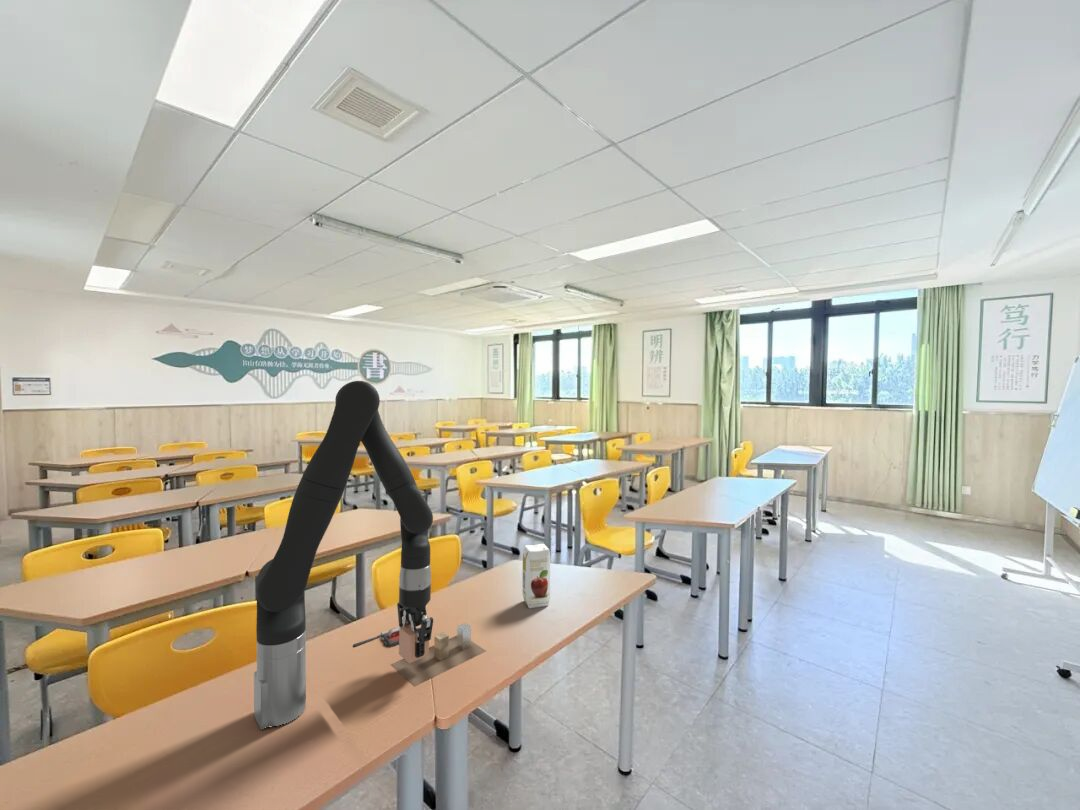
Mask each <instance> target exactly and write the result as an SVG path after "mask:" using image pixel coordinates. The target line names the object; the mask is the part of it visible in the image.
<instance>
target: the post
mask: <svg viewBox="0 0 1080 810" xmlns="http://www.w3.org/2000/svg"><path fill="white" fill-rule="evenodd" d="M456 627H457V628H456V636H457V646H458V647H459V648H460V649H462V650H464V649H466V648H468V647H470V646H471V641H472V640H471V639H472V636H471V635H472V634H471V633H472V631H471V630H472V629H471V628H472V626H471V625H470V624H467V623H466V622H464V623H461V624H459V625H457V626H456Z"/></svg>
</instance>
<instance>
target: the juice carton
mask: <svg viewBox="0 0 1080 810" xmlns="http://www.w3.org/2000/svg"><path fill="white" fill-rule="evenodd" d="M521 583H522V589H521V590H522V591H521V592H522V596H523V597H522V598H523V601H524V603H525V604H526V606H527V607H528V609H536V608H541V607H542V608H543V607H549V605H550V600H551V553H550V548H549V547H548V546H546V544H544V543H539V544H538V543H537V544H532V545H531V544H529V545H526V544H525V545H524V547H523V552H522V582H521Z"/></svg>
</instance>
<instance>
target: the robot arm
mask: <svg viewBox="0 0 1080 810" xmlns="http://www.w3.org/2000/svg"><path fill="white" fill-rule="evenodd" d="M334 400H335V406H334V410H333V412H332V416H331V419H330V422H329V425H328V428H327V430H326V433H325V436H324V437H323V439H322V440H321V442H320V444H319V446H318V447H317V448H316V450H315V452H314V454H313V455H312V456H311V458H310V460H309V462H308V464H307V466H306V468H305V469H304V472H303V473H302V476H301V478H300V480H299V483H298V485H297V488H296V490H295V493H294V495H293V498H292V501H291V505H290V508H289V512H288V515H287V519H286V524H285V528H284V532H283V535H282V539H281V541H280V544H279V546H278V549H277V550H276V553H275V555H273V556H274V557H273V558H272V559H270V560H269V561H267V562H265V564H264V565H263V566H261V569H260V570H259V572H258V574H257V577H256V586H255V587H256V588H255V593H256V632H255V633H256V671H254V673H253V716H254V718H255V721H256V722H257V725H258V727H259V729H260V731H263V730H265V729H264V728H265V727H269V726H277V727H279V726H278V725H281V726H283V725H282V724H284V725H287V724H288V722H289V723H291V722H293V721H295V720H296V719H297V718H299V717H300V716H301V715H302V714H303V713H304V711H305V710H306V707H305V706H306V705H307V704H306V702H307V701H306V700H307V695H306V694H307V693H306V692H307V691H306V688H307V687H306V685H307V682H306V681H307V678H306V677H307V676H306V675H307V670H306V669H307V668H306V667H307V666H306V665H307V662H306V661H307V660H306V658H307V653H306V651H307V649H306V648H307V645H306V643H307V639H306V638H307V637H306V636H307V632H306V630H307V629H306V624H307V623H306V619H307V617H306V616H307V615H306V601H305V599H306V598H305V595H306V594H305V591H306V588H307V585H308V581H309V577H310V574H311V570H312V568H313V565H314V564H313V563H314V560H315V558H316V556H317V552H318V550H319V546H320V544H321V542H322V540H323V538H324V536H325V535H326V532H327V530H328V528H329V526H330V523H331V522H332V519H333V517H334V515H335V512H336V510H337V508H338V506H339V505H340V501H341V499H342V497H343V494H344V492H345V488H346V486H347V484H348V480H349V478H350V475H351V472H352V469H353V466H354V463H355V459H356V456H357V452H358V449H359V446H360V445H361V443H362V445H363V447H364V449H365V451H366V453H367V454H368V457H369V459H370V461H371V464H372V465H373V468H374V470H375V472H376V474H377V477H378V478H379V480H380V482H381V484H382V486H383V489H384V490H385V492H386V493H387V495H388V496H389V498H390V499H391V501H392V503H393V504H394V506H395V508H396V512H397V513H398V515H399V518H400V519H399V521H400V522H399V523H400V535H401V536H400V538H401V548H400V569H399V581H398V583H399V584H398V585H399V587H398V589H399V590H398V591H399V592H398V593H399V594H398V602H397V605H396V606H397V617H398V618H397V619H398V627H403V626H405V627H406V626H408V625H410V624H411V628H412V632H413V633H415V641H416V642H415V657H417V658H419V657H421V656H423V655H424V652H425V642H426V641H429V642H430V641H431V639H432V631H433V626H434V618H433V617H432V616H431V617H428V616H427V608H426V607H427V605H428V604H429V603H430V601H431V594H432V591H431V590H432V586H431V585H432V569H431V545H430V541H429V535H428V534H429V529H430V528H431V527H432V525H433V521H434V516H433V511H432V510H431V508H430V506H429V504H428V502H427V501H426V499H425V498H424V496H423V494H422V493H421V490H419V487H418V485H417V483H416V480H415V478H414V476H413V474H412V472H411V470H410V468H409V466H408V464H407V462H406V460H405V459H404V457H403V455H402V453H401V452H400V451H399V449H398V447H397V445H395V443H394V442H393V440H392V438H391V436H390V435H389V433H388V431H387V430H386V427H385V425H384V424H383V420H382V418H381V415H380V412H379V407H380V402H381V400H380V395H379V391H378V390H377V389H376V387H375V386H374V385H372V383H369V382H368V381H364V380H354V381H350V382H348V383H345V384H344V385H343V386H342V387H340V389H339V390H338V391H337V393H336V395H335V399H334ZM419 625H421V627H419V628H416V626H419ZM419 631H420V637H419V634H418V633H419ZM426 634H427V635H426ZM304 709H305V710H304ZM302 712H303V713H302ZM301 713H302V714H301ZM298 716H299V717H298ZM294 719H295V720H294ZM292 720H293V721H292ZM290 721H291V722H290ZM286 723H287V724H286ZM262 729H263V730H262Z"/></svg>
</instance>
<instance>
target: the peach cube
mask: <svg viewBox="0 0 1080 810" xmlns="http://www.w3.org/2000/svg"><path fill="white" fill-rule="evenodd" d="M419 627H421V625H419V626H416V628H419ZM418 634H419V637H420V631H419V633H418ZM426 635H427V634H426ZM415 642H416V641H415V633H413V632H412V628H411V624H410V625H408V626H406V627H405V626H403V627H400V628H399V644H398V645H399V646H398V655H399V656H400V657H402V659H405V660H406V661H407V662H408V663H411V662H414V661H416V660H418V659H421V658H423V657H425V656H428V655H429V647H430V640H429V641H426V642H425V652H424V655H423V656H421V657H419V658H417V657H415Z"/></svg>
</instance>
